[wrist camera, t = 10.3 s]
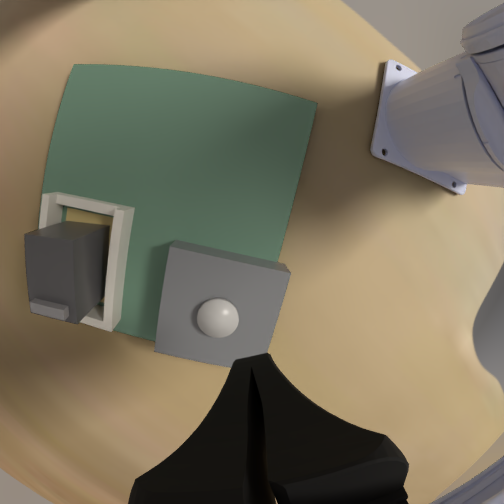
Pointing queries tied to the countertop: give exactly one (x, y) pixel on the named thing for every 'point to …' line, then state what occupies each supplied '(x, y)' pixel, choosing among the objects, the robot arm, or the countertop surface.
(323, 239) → the countertop surface
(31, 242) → the plug
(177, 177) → the board
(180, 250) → the grey knob block
